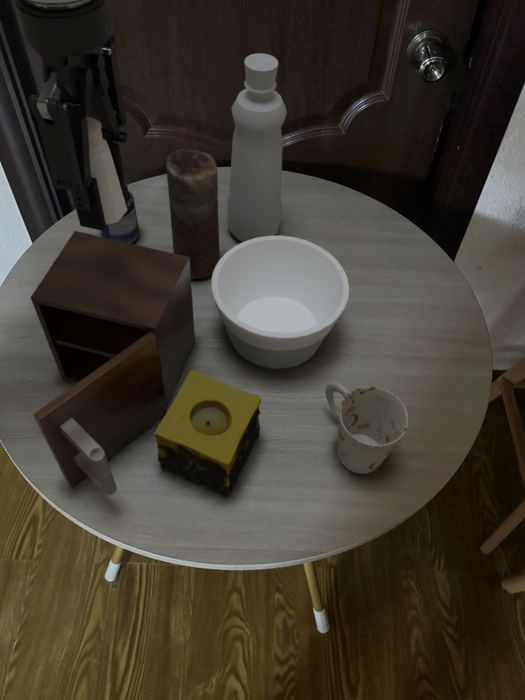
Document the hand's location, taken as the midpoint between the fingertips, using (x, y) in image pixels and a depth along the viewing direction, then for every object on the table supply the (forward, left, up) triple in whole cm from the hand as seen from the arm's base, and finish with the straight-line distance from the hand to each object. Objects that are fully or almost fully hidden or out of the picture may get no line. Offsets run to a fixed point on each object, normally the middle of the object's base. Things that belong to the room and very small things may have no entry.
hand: (104, 208), depth 69 cm
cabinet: (+1, -2, -26) cm, 26 cm away
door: (+7, -17, -26) cm, 32 cm away
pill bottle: (-11, +21, -27) cm, 36 cm away
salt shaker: (0, 0, 0) cm, 0 cm away
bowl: (+19, +9, -27) cm, 34 cm away
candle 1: (+4, +19, -27) cm, 33 cm away
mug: (+34, -6, -27) cm, 43 cm away
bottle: (+10, +30, -27) cm, 41 cm away
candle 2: (+16, -13, -27) cm, 34 cm away
